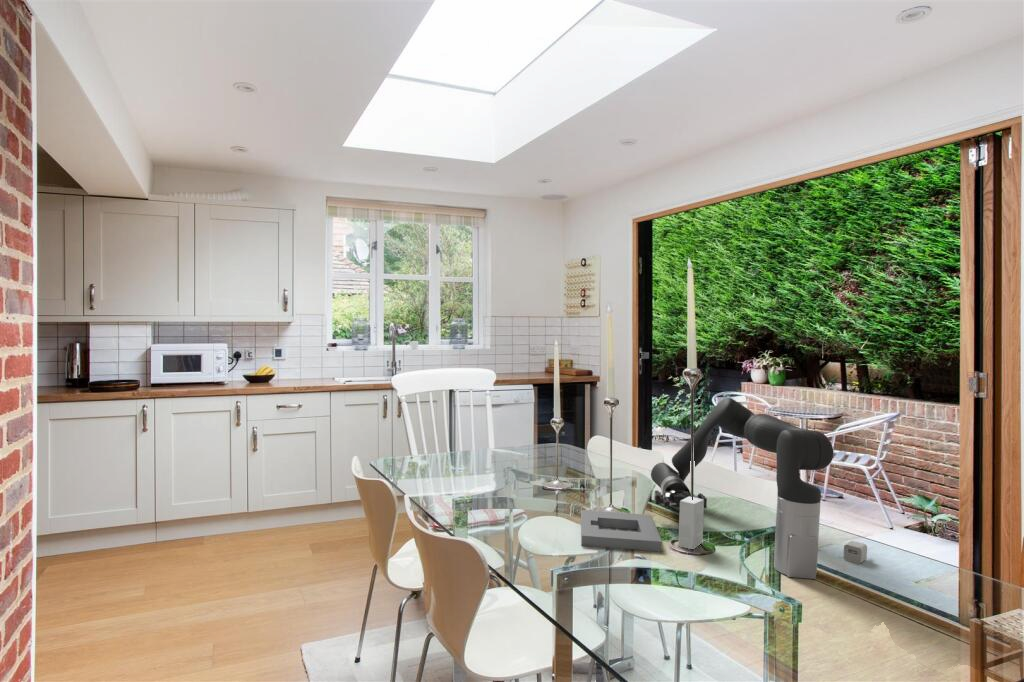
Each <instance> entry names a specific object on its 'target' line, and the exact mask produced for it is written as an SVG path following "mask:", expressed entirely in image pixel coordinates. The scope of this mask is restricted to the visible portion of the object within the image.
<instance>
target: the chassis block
mask: <svg viewBox="0 0 1024 682" xmlns="http://www.w3.org/2000/svg"><path fill="white" fill-rule="evenodd" d="M580 511H581V512H580V539H581V540H580V542H581V544H580V545H581V546H584V547H586V546H587V547H598V548H600V547H601V548H612V549H623V550H624V549H625V550H635V551H636V550H638V551H647V552H648V551H649V552H660V553H661V552H662V551H663V550H662V549H663V541H662V538H661V536H660V533H659V530H658V528H657V525H656V522H655V520H654V517H653V514H643V513H628V512H617V511H616V512H614V511H601V510H589V509H588V510H587V509H581V510H580ZM600 527H603V528H612V529H601V528H600ZM613 528H615V529H613ZM616 529H627V530H628V529H629V530H637V531H627V530H616Z"/></svg>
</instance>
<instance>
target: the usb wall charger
mask: <svg viewBox="0 0 1024 682" xmlns="http://www.w3.org/2000/svg"><path fill="white" fill-rule="evenodd" d="M867 557H868V545H867V544H865V543H864V542H863V543H862V542H858V541H855V540H849V542H847V543H846V544H844V546H843V560H844V561H847V562H851V563H854V564H858V565H859V564H861V563H862V562H864V561H865V560H867Z"/></svg>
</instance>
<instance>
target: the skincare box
mask: <svg viewBox="0 0 1024 682" xmlns="http://www.w3.org/2000/svg"><path fill="white" fill-rule="evenodd" d="M704 510H705V508H704V499H700V498H695V497H693V500H692V497H690V496H689V497H687V498H685V499H683V500H681V501H680V507H679V514H678V515H679V518H678V539H677V540H678V542H677V543H678V545H677V546H678V547H679V546H680V547H679V548H683V547H684V549H686V548H688V549H687V550H690V549H694V550H696V549H697V548H698V547H697V546H699V545H700V544H701V543H702V544H703V535H704V513H705V512H704ZM700 546H701V545H700ZM700 546H699V547H700ZM696 547H697V548H696ZM695 548H696V549H695Z"/></svg>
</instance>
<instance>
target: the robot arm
mask: <svg viewBox="0 0 1024 682" xmlns="http://www.w3.org/2000/svg"><path fill="white" fill-rule="evenodd" d="M716 427H719V428H721V429H722V430H724V431H725V432H727V433H729V434H730V435H732V436H734V437H737V438H739V439H744V440H747V442H749V443H750V445H751V444H752V445H753V446H754V447H756V448H758V449H759V450H762V451H766V452H768V453H773V454H776V474H775V475H776V487H777V494H776V495H777V500H776V515H775V517H776V518H775V534H774V551H773V553H774V555H773V556H774V557H773V568H774V569H775V570H776V571H777V572H778V573H780V574H783V575H785V576H786V577H788V578H798V579H799V578H800V579H811V580H816V579H817V575H818V574H817V573H818V558H819V557H818V553H819V539H820V538H819V537H820V531H819V530H820V518H821V517H820V515H821V500H822V499H821V497H822V491H821V489H820V488H819V487H817V486H815V485H813V484H811V483H809V482H806V481H804V480H802V479H801V474H800V471H821V470H823V469H825V468H827V467H828V466H830V464H831V463H832V461H833V459H834V448H833V444H832V442H831V441H830V439H829V438H828V437H827V436H826V434H824V433H823V432H821V431H818V430H813V429H812V430H811V429H806V428H800V427H798V426H796V425H794V424H791V423H789V422H787V421H785V420H782V419H779V418H777V417H775V416H772V415H769V414H766V413H756V414H755V413H754V412H753V411H752V410H750V409H749V408H747V407H746V406H744V405H743V404H742V403H740V402H738V401H737V400H736V399H733V398H732V397H725V398H723V399H722V400H720V401H719V402H718V403H717V404H716V405H715V406H714V407H713V409H711V411H710V412H709V414H708V415H707V416H706V417H705V419H704V420H703V421H702V423H701V424H700V425H699V426H698V428H697V429H696V431H695V432H694V434H693V435H694V461H695V468H696V467H698V465H699V464H700V463H701V462H702V461H703V460H704V459H705V457H706V454H707V453H708V452H707V451H708V445H709V440H710V436H711V433H712V432H713V430H714V429H715V428H716ZM690 461H691V438H690V439H689V440H688V441H687V442H686V443H685V444H684V445H683V446H682V447H681V448H680V449H679V450H678V451H677V452H676V453H675V454H674V455H673V456H672V457H671V463H672V466H673V467H674V468H672V467H671V466H670V465H669V464H667V463H666V462H658V463H657V464H654V466H653V467H652V469H651V471H650V472H651V473H650V478H651V481H652V482H653V483H655V485H656V486H658V488H659V489H660V490H661V492H660V491H659V490H654V497H653V499H654V500H653V501H654V504H655V505H660V504H661V505H662V506H663V507H664V508H666V510H669V509H670V506H671V507H673V508H680V501H681V500H683V499H685V498H687V497H689V496H690V497H691V494H692V493H691V491H690V489H689V487H688V485H687V484H686V483H685V480H686V479H687V478H688V476H689V474H690V473H691V472H690ZM693 497H695V498H700V499H704V509H707V508H708V506H707V504H708V502H707V501H708V499H707V497H706V496H705V495H704V494H703V493H698V494H697V495H695V494H693Z"/></svg>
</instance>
